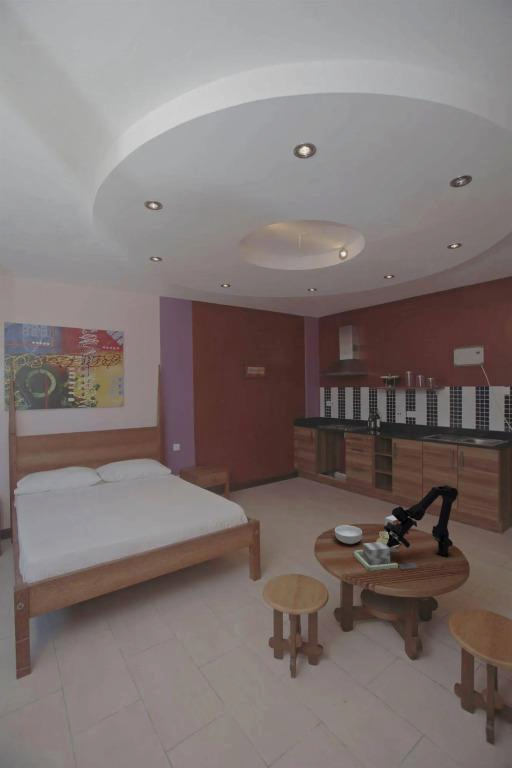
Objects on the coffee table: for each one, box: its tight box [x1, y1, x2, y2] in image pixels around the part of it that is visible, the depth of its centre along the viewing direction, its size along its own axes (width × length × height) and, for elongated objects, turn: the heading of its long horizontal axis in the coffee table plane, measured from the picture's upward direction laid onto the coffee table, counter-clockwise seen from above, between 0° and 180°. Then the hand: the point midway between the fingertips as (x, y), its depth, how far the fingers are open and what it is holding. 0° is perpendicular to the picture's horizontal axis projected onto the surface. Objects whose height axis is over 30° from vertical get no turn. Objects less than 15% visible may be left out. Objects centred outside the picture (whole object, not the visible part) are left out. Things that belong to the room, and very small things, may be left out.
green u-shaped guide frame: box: [352, 547, 420, 572], centre depth 200 cm, size 28×23×2 cm
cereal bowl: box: [334, 524, 363, 545], centre depth 224 cm, size 17×17×7 cm
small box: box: [384, 514, 400, 533], centre depth 228 cm, size 8×6×13 cm
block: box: [362, 541, 391, 566], centre depth 200 cm, size 12×8×8 cm, turn 101°
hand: (386, 547), depth 201 cm, fingers closed, pressing on block
